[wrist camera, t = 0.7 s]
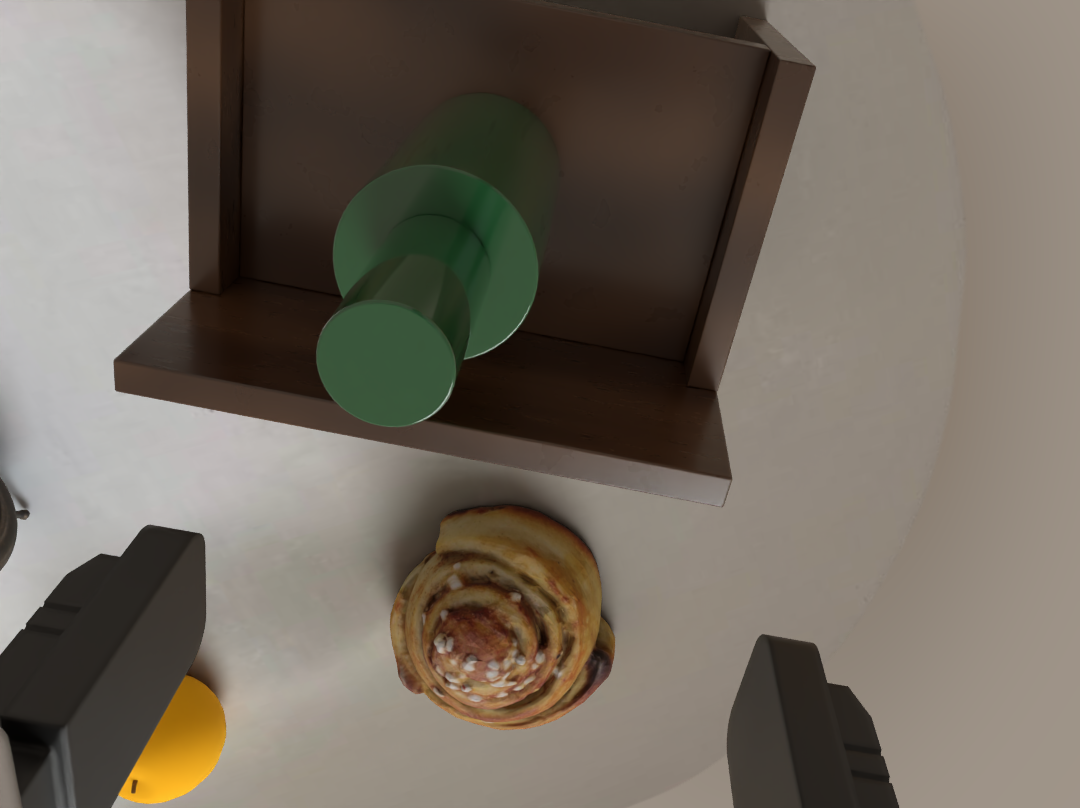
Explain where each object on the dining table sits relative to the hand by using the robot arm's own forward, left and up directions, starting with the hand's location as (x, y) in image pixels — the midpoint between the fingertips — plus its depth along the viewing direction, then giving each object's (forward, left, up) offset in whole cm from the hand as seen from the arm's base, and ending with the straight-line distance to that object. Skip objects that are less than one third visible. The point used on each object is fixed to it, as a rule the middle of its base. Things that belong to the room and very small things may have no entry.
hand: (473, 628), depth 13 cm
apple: (+42, -19, -34) cm, 57 cm away
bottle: (0, -3, -24) cm, 24 cm away
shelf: (0, -3, -34) cm, 34 cm away
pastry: (+29, +1, -34) cm, 45 cm away
